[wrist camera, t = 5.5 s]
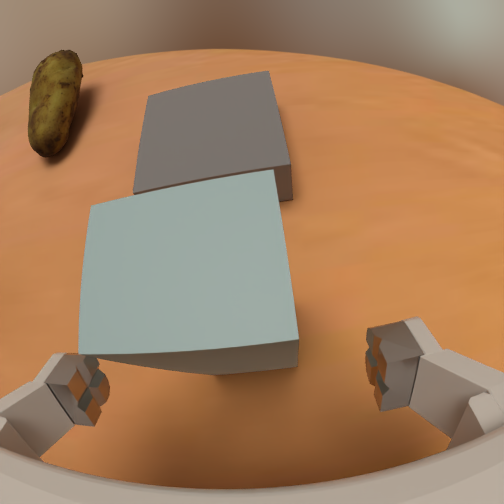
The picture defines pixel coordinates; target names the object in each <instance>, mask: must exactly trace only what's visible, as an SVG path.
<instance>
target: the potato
mask: <svg viewBox="0 0 504 504" xmlns="http://www.w3.org/2000/svg"><path fill="white" fill-rule="evenodd" d="M82 77H83V74H82V64H81V62H80V60H79V57H78V55H77V53H75V52H73V51H71V50H66V51H64V50H61V51H59V52H55V53H53V54H51V55H49V56H48V57H47V58H45V59H44V60H43V61H41V62H40V64H39V65H38V66H37V68H36V69H35V71H34V74H33V78H32V84H31V88H30V102H29V122H28V137H29V142H30V145H31V147H32V148H33V150H34V151H36V152H37V153H38V154H39V155H40V156H42V157H48V156H52V155H54V154H56V153H57V152H59V150H60V149H61V148H62V147H63V146H64V144H65V143H66V141H67V139H68V135H69V127H70V125H71V122H72V120H73V117H74V115H75V112H76V108H77V104H78V99H79V92H80V85H81V79H82Z"/></svg>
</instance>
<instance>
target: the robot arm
mask: <svg viewBox="0 0 504 504" xmlns="http://www.w3.org/2000/svg"><path fill="white" fill-rule="evenodd" d="M366 341H367V343H368V345H369V349H368V350H367V351H366V356H365V363H366V372H367V376H368V379H369V382H370V384H371V385H373V386H375V390H374V396H375V399H376V402H377V405H378V407H379V410H380V412H382V411H387V410H392V409H396V408H400V407H405V406H409V407H410V408H411V409H413V410H414V411H415V412H417V413H418V414H419V415H421V416H422V417H423V418H425V419H426V420H427V421H429V422H430V423H431V424H433V425H434V426H435V427H437V428H438V429H439V430H441V431H442V432H443V433H445V434H446V435H448V436H449V437H450V438H452V440H451V442H450V444H449V446H448V448H447V449H446V451H443V452H440V453H438V454H435V455H432V456H429V457H426V458H423V459H420V460H416V461H413V462H410V463H407V464H403V465H400V466H396V467H392V468H388V469H385V470H381V471H376V472H372V473H368V474H363V475H359V476H354V477H349V478H343V479H338V480H332V481H326V482H319V483H312V484H304V485H295V486H285V487H272V488H255V489H197V488H180V487H168V486H158V485H149V484H141V483H134V482H128V481H121V480H116V479H110V478H105V477H100V476H95V475H91V474H86V473H82V472H78V471H74V470H70V469H66V468H62V467H59V466H55V465H52V464H48V463H45V462H43V461H42V459H41V458H40V456H42V455H43V454H44V453H45V452H46V451H47V450H48V449H49V448H50V447H51V446H53V445H54V444H55V443H56V442H57V441H58V440H59V439H60V438H61V437H62V436H64V435H65V434H66V433H67V432H68V431H69V430H70V429H71V428H72V427H73V426H74V424H77V425H85V426H94V427H95V425H96V423H97V421H98V419H99V416H100V414H101V412H102V411H101V408H100V406H102V405H103V404H104V403H106V402H107V400H108V397H109V393H110V385H109V381H108V379H107V377H106V375H105V374H104V373H103V372H102V371H100V370H99V362H98V360H97V358H94V357H89V356H85V355H80V354H79V353H55V354H53V355H52V356H51V358H50V359H49V360H48V362H47V363H46V364H45V366H44V367H43V368H42V370H41V371H40V372H39V374H38V375H37V376H36V378H35V379H34V380H33V382H30V381H29V382H28V383H26V384H24V385H23V386H21V387H19V388H18V389H16V390H14V391H13V392H11V393H9V394H8V395H6V396H4V397H3V398H1V399H0V504H504V373H503V372H500V371H498V370H496V369H493V368H491V367H489V366H486V365H484V364H482V363H479V362H477V361H475V360H472V359H470V358H468V357H465V356H463V355H461V354H458V353H456V352H454V351H452V350H449V349H445V350H443V349H442V348H441V346H440V345H439V344H438V342H437V341H436V339H435V338H434V336H433V335H432V334H431V332H430V331H429V329H428V328H427V327H426V325H425V324H424V323H423V321H422V320H421V318H419V317H413V318H409V319H405V320H401V321H399V322H395V323H390V324H385V325H380V326H375V327H370V328H368V329H367V335H366Z"/></svg>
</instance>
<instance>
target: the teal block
mask: <svg viewBox="0 0 504 504" xmlns="http://www.w3.org/2000/svg"><path fill="white" fill-rule="evenodd" d="M298 349H299V335H298V328H297V320H296V313H295V306H294V298H293V291H292V284H291V277H290V271H289V264H288V257H287V250H286V244H285V237H284V231H283V225H282V218H281V212H280V206H279V200H278V194H277V188H276V182H275V176H274V170H273V169H272V170H266V171H259V172H253V173H246V174H240V175H234V176H228V177H223V178H217V179H211V180H206V181H201V182H195V183H190V184H185V185H180V186H175V187H170V188H165V189H161V190H156V191H151V192H147V193H142V194H138V195H133V196H129V197H125V198H120V199H116V200H112V201H108V202H104V203H100V204H96V205H92V206H91V210H90V216H89V222H88V229H87V236H86V244H85V252H84V261H83V271H82V282H81V295H80V313H79V354H80V355H85V356H89V357H94V358H99V359H104V360H109V361H115V362H120V363H126V364H132V365H138V366H144V367H150V368H157V369H164V370H172V371H180V372H188V373H197V374H207V375H223V374H236V373H247V372H257V371H266V370H275V369H283V368H291V367H297V366H298Z"/></svg>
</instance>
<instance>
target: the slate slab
mask: <svg viewBox="0 0 504 504" xmlns="http://www.w3.org/2000/svg"><path fill="white" fill-rule="evenodd" d="M272 169H273V170H274V176H275V182H276V188H277V194H278V200H279V201H286V200H293V196H292V177H291V163H290V158H289V154H288V149H287V145H286V140H285V136H284V132H283V127H282V123H281V119H280V114H279V110H278V106H277V102H276V98H275V94H274V90H273V86H272V82H271V78H270V74H269V71H263V72H256V73H250V74H243V75H238V76H232V77H226V78H221V79H216V80H211V81H206V82H202V83H197V84H193V85H189V86H184V87H180V88H176V89H172V90H168V91H165V92H161V93H157V94H154V95H150V96H148V100H147V105H146V111H145V116H144V121H143V127H142V133H141V139H140V145H139V151H138V158H137V165H136V172H135V180H134V188H133V194H134V195H138V194H142V193H147V192H151V191H156V190H161V189H165V188H170V187H175V186H180V185H185V184H190V183H195V182H201V181H206V180H211V179H217V178H223V177H228V176H234V175H240V174H246V173H253V172H259V171H266V170H272Z"/></svg>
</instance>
